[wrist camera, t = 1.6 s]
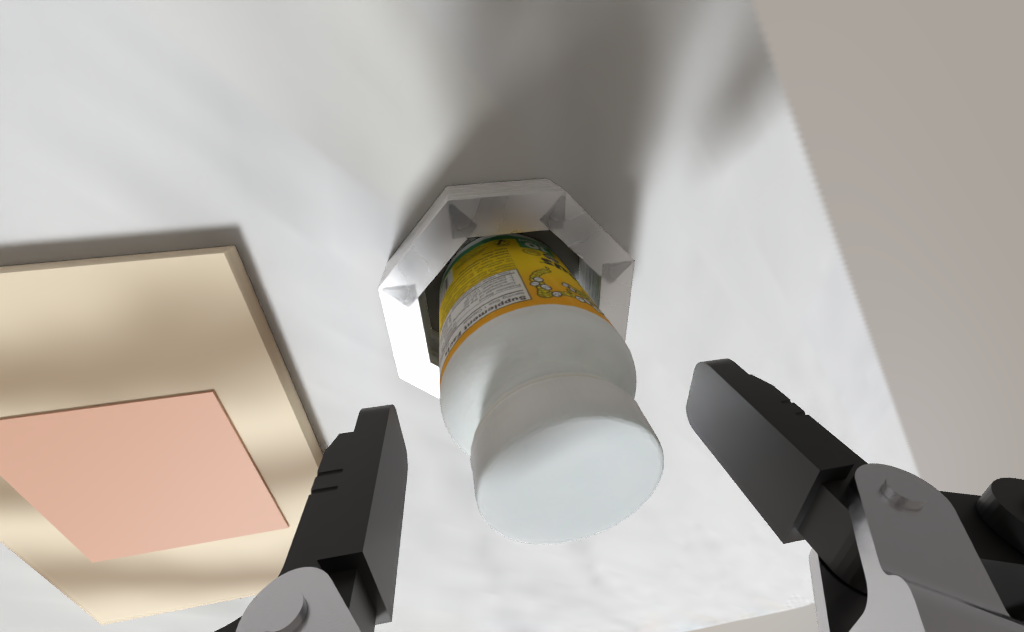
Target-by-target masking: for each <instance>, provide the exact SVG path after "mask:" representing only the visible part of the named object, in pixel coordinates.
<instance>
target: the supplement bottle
mask: <svg viewBox="0 0 1024 632" xmlns="http://www.w3.org/2000/svg"><path fill="white" fill-rule="evenodd" d="M439 386H440V405H441V412H442V416H443V420H444V423H445V425H446V428H447V430H448V432H449V434H450V435H451V437H452V439H453V440H454V441H455V443H456V444H457V445H458V446H459V447H460V449H462V450H463V451H464V452H465V453H466V454H467V455H468V456H470V461H471V467H472V471H473V479H474V488H475V497H476V501H477V505H478V509H479V512H480V514H481V516H482V518H483V519H484V520H485V522H486V523H487V524H488V525H489V526H490V527H491V528H492V529H493V530H495V531H496V532H497V533H499V534H500V535H502V536H504V537H507V538H509V539H511V540H514V541H518V542H523V543H529V544H561V543H566V542H570V541H575V540H579V539H583V538H587V537H590V536H593V535H596V534H598V533H601V532H603V531H605V530H608V529H610V528H611V527H613V526H615V525H617V524H618V523H620V522H621V521H623V520H625V519H626V518H628V517H629V516H630V515H631V514H633V513H634V512H635V511H637V510H638V509H639V508H640V507H641V506H642V505H643V504H644V503H645V502H646V501H647V500H648V499H649V498H650V496H651V495H652V494H653V492H654V490H655V489H656V487H657V485H658V483H659V481H660V478H661V475H662V472H663V467H664V456H663V450H662V447H661V445H660V442H659V440H658V438H657V436H656V434H655V433H654V431H653V429H652V428H651V426H650V424H649V423H648V421H647V419H646V418H645V416H644V415H643V413H642V411H641V410H640V408H639V406H638V404H637V402H636V401H635V400H634V397H635V392H636V371H635V365H634V361H633V358H632V355H631V352H630V350H629V348H628V346H627V345H626V343H625V341H624V340H623V338H622V337H621V335H620V334H619V333H618V331H617V330H616V329H615V328H614V326H613V325H612V324H611V323H610V321H609V320H608V319H607V318H606V316H605V315H604V313H603V312H602V311H601V310H600V309H599V308H598V307H597V305H596V304H595V303H594V301H593V300H592V299H591V298H590V296H589V295H588V294H587V293H586V292H585V290H584V289H583V287H582V286H581V285H580V284H579V283H578V281H577V280H576V279H575V277H574V276H573V275H572V274H571V272H570V271H569V270H568V269H567V267H566V266H565V265H564V264H563V262H562V261H561V260H560V258H559V257H558V256H557V255H556V254H555V253H554V252H553V251H552V250H551V249H550V248H549V247H547V246H546V245H545V244H543V243H541V242H539V241H537V240H535V239H533V238H530V237H527V236H524V235H521V234H516V233H511V234H500V235H489V236H483V237H481V238H479V239H476V240H474V241H473V242H471V243H469V244H468V245H467V246H465V247H464V248H463V249H461V250H460V251H459V252H458V253H457V254H456V255H455V256H454V258H453V259H452V260H451V262H450V263H449V265H448V267H447V268H446V270H445V272H444V275H443V278H442V281H441V285H440V293H439Z"/></svg>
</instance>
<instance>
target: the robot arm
mask: <svg viewBox="0 0 1024 632" xmlns="http://www.w3.org/2000/svg"><path fill="white" fill-rule="evenodd" d="M686 413H687V417H688V420H689V423H690V425H691V427H692V428H693V430H694V431H695V432H696V434H697V435H698V436H699V437H700V439H701V440H702V441H703V442H704V444H705V445H706V446H707V447H708V449H709V450H710V451H711V453H712V454H713V455H714V456H715V458H716V459H717V460H718V461H719V463H720V464H721V465H722V466H723V468H724V469H725V470H726V472H727V473H728V474H729V475H730V477H731V478H732V479H733V480H734V482H735V483H736V484H737V485H738V487H739V488H740V489H741V491H742V492H743V493H744V494H745V496H746V497H747V498H748V499H749V501H750V502H751V503H752V504H753V506H754V507H755V508H756V510H757V511H758V512H759V513H760V515H761V516H762V517H763V518H764V520H765V521H766V522H767V523H768V525H769V526H770V527H771V529H772V530H773V531H774V532H775V534H776V535H777V536H778V537H779V539H780V540H781V541H782V542H783V544H785V543H790V542H795V541H800V540H804V539H805V540H806V541H807V542H808V543H809V544H810V546H811V547H812V549H811V551H810V554H809V564H810V571H811V579H812V586H813V593H814V601H815V608H816V615H817V623H818V630H819V632H1024V480H1022V479H1016V478H1000V479H997V480H995V481H994V482H993V483H992V484H991V485H990V486H989V487H988V488H987V490H986V491H985V492H984V493H983V494H982V496H977V495H969V494H960V493H952V492H943V491H938V490H937V489H936V488H934V487H933V486H932V485H930V484H929V483H927V482H926V481H924V480H922V479H921V478H919V477H917V476H915V475H913V474H911V473H909V472H907V471H904V470H902V469H899V468H896V467H893V466H888V465H884V464H868V463H867V462H865V461H864V460H863V459H862V458H860V457H859V456H858V455H857V454H855V453H854V452H853V451H852V450H851V449H849V448H848V447H847V446H846V445H845V444H843V443H842V442H841V441H840V440H838V439H837V438H836V437H835V436H834V435H832V434H831V433H830V432H829V431H828V430H826V429H825V428H824V427H823V426H821V425H820V424H819V423H818V422H817V421H815V420H814V419H813V418H812V417H811V416H809V415H805V411H803V410H802V409H801V408H800V407H798V406H797V405H796V404H795V403H791V402H790V399H789V398H788V397H786V396H785V395H784V394H783V393H781V392H780V391H779V390H778V389H777V388H775V387H774V386H773V385H771V384H769V383H767V382H765V381H763V380H761V379H759V378H757V377H755V376H753V375H749V374H748V373H747V372H745V371H744V370H743V369H742V368H741V367H740V366H738V365H737V364H736V363H735V362H734V361H732V360H730V359H719V360H712V361H705V362H700V363H698V364H697V365H696V367H695V369H694V373H693V378H692V382H691V387H690V391H689V396H688V400H687V405H686ZM407 471H408V463H407V452H406V447H405V443H404V439H403V435H402V431H401V427H400V424H399V420H398V416H397V412H396V409H395V406H394V405H385V406H378V407H371V408H364V409H361V411H360V413H359V416H358V419H357V423H356V426H355V429H354V432H349V433H342V434H339V435H338V436H337V438H336V439H335V440H334V441H333V442H332V444H331V445H330V446H329V447H328V449H327V450H326V451H325V452H324V455H323V457H322V460H321V463H320V466H319V468H318V471H317V477H315V480H314V482H313V485H312V488H311V494H310V495H309V496H308V499H307V502H306V505H305V507H304V510H303V513H302V516H301V518H300V521H299V524H298V527H297V530H296V532H295V535H294V538H293V541H292V543H291V546H290V549H289V552H288V555H287V557H286V560H285V563H284V565H283V568H282V570H281V572H280V574H279V576H278V578H276V579H275V580H273V581H272V582H271V583H269V584H268V585H267V586H266V587H264V588H263V589H262V590H261V591H260V592H259V593H258V594H257V596H256V597H255V598H254V599H253V600H252V602H251V603H250V604H249V606H248V607H247V609H246V610H245V612H244V614H243V616H241V617H240V618H238V619H237V620H235V621H234V622H232V623H230V624H228V625H227V626H225V627H223V628H221V629H219V630H217V631H215V632H374V628H375V625H377V624H382V623H387V622H392V613H393V604H394V594H395V585H396V576H397V566H398V557H399V547H400V538H401V529H402V519H403V510H404V501H405V491H406V482H407Z"/></svg>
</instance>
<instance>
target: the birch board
mask: <svg viewBox="0 0 1024 632" xmlns="http://www.w3.org/2000/svg"><path fill="white" fill-rule="evenodd" d="M322 457H323V454H322V452H321V449H320V447H319V444H318V442H317V440H316V437H315V435H314V433H313V430H312V428H311V425H310V423H309V421H308V418H307V416H306V413H305V411H304V409H303V406H302V404H301V402H300V399H299V397H298V394H297V392H296V390H295V387H294V385H293V383H292V380H291V378H290V375H289V373H288V371H287V368H286V366H285V363H284V361H283V359H282V356H281V354H280V352H279V349H278V347H277V344H276V342H275V340H274V337H273V335H272V332H271V330H270V328H269V325H268V323H267V321H266V318H265V316H264V313H263V311H262V309H261V306H260V304H259V301H258V299H257V297H256V294H255V292H254V290H253V287H252V285H251V282H250V280H249V278H248V275H247V273H246V270H245V268H244V266H243V263H242V261H241V259H240V256H239V254H238V251H237V249H236V247H235V246H224V247H213V248H202V249H191V250H180V251H169V252H158V253H147V254H135V255H124V256H113V257H102V258H91V259H80V260H69V261H58V262H47V263H36V264H25V265H14V266H3V267H0V542H1V543H3V544H4V545H5V546H6V547H8V548H9V549H10V550H11V551H12V552H14V553H15V554H16V555H17V556H18V557H20V558H21V559H22V560H23V561H25V562H26V563H27V564H28V565H29V566H31V567H32V568H33V569H34V570H36V571H37V572H38V573H39V574H40V575H42V576H43V577H44V578H45V579H46V580H48V581H49V582H50V583H51V584H53V585H54V586H55V587H56V588H57V589H59V590H60V591H61V592H62V593H63V594H65V595H66V596H67V597H68V598H70V599H71V600H72V601H73V602H74V603H76V604H77V605H78V606H79V607H80V608H82V609H83V610H84V611H85V612H87V613H88V614H89V615H90V616H91V617H93V618H94V619H95V620H96V621H98V622H99V623H100V624H101V625H105V624H110V623H115V622H121V621H126V620H131V619H136V618H141V617H146V616H151V615H156V614H161V613H167V612H172V611H177V610H182V609H187V608H192V607H197V606H202V605H208V604H213V603H218V602H223V601H228V600H233V599H238V598H243V597H249V596H254V595H257V594H258V593H259V592H260V591H261V590H262V589H263V588H264V587H266V586H267V585H268V584H269V583H271V582H272V581H273V580H275V579H276V578H278V576H279V574H280V572H281V570H282V568H283V565H284V563H285V560H286V557H287V555H288V552H289V549H290V546H291V543H292V541H293V538H294V535H295V532H296V530H297V527H298V524H299V521H300V518H301V516H302V513H303V510H304V507H305V505H306V502H307V499H308V496H309V495H310V494H311V488H312V485H313V482H314V480H315V477H317V471H318V468H319V466H320V463H321V460H322Z"/></svg>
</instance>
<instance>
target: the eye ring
mask: <svg viewBox="0 0 1024 632" xmlns="http://www.w3.org/2000/svg"><path fill="white" fill-rule="evenodd" d="M542 230H551V231H552V232H553V233H554V234H555V235H556V236H557V237H558V238H560V239H561V240H562V241H563V242H564V243H565V244H566V245H567V246H568V247H569V248H570V249H572V250H573V251H574V252H575V253H576V254H577V255H578V256H579V276H578V283H579V284H580V285H581V286H582V287H583V289H584V290H585V292H586V293H587V294H588V295H589V296H590V298H591V299H592V300H593V301H594V303H595V304H596V305H597V307H598V308H599V309H600V310H601V311H602V312H603V313H604V315H605V316H606V318H607V319H608V320H609V321H610V323H611V324H612V325H613V326H614V328H615V329H616V330H617V331H618V333H619V334H620V335H621V337H622V338H623V340H624V341H625V339H626V330H627V322H628V313H629V305H630V296H631V288H632V279H633V271H634V262H635V260H634V259H633V258H632V257H631V256H630V255H629V254H628V253H627V252H626V251H625V250H624V249H623V248H622V247H621V246H620V245H619V244H618V243H617V242H616V241H615V240H614V239H613V238H612V237H611V236H610V235H609V234H608V233H607V232H606V231H605V230H604V229H603V228H602V227H601V226H600V225H599V224H598V223H597V222H596V221H595V220H594V219H593V218H592V217H591V216H590V215H589V214H588V213H587V212H586V211H585V210H584V209H583V208H582V207H581V206H580V205H579V204H578V203H577V202H576V201H575V200H574V199H573V198H572V197H571V196H570V195H569V194H568V193H567V192H566V191H565V190H564V189H562V188H561V187H559V186H558V185H556V184H554V183H553V182H551V181H550V180H548V179H547V178H545V179H532V180H519V181H506V182H493V183H481V184H468V185H455V186H446V188H445V189H444V190H443V192H442V193H441V194H440V195H439V197H438V198H437V199H436V201H435V202H434V203H433V204H432V206H431V207H430V208H429V209H428V211H427V212H426V213H425V215H424V216H423V217H422V218H421V220H420V221H419V222H418V224H417V225H416V226H415V227H414V229H413V230H412V231H411V232H410V234H409V235H408V236H407V238H406V239H405V240H404V241H403V243H402V244H401V245H400V247H399V248H398V249H397V250H396V252H395V253H394V254H393V255H392V257H391V258H390V259H389V261H388V262H387V265H386V267H385V270H384V273H383V276H382V279H381V281H380V284H379V287H378V289H379V294H380V298H381V302H382V306H383V310H384V314H385V318H386V323H387V327H388V331H389V335H390V339H391V343H392V347H393V352H394V356H395V360H396V364H397V368H398V372H399V376H400V378H402V379H404V380H406V381H408V382H409V383H411V384H413V385H415V386H417V387H419V388H421V389H422V390H424V391H426V392H428V393H430V394H432V395H433V396H435V397H437V398H439V399H440V386H439V333H438V332H436V331H434V330H433V329H431V323H430V317H429V312H428V306H427V300H426V294H425V288H426V287H427V286H428V285H429V284H430V283H431V281H432V280H433V279H434V278H435V277H436V275H437V274H438V273H439V272H440V271H441V269H442V268H443V267H444V266H445V265H446V263H447V262H448V261H449V260H450V259H451V257H452V256H453V255H454V254H455V253H456V251H457V250H458V249H459V248H460V247H461V246H462V244H463V243H464V242H465V241H466V240H467V238H468V237H479V236H489V235H500V234H511V233H521V232H532V231H542Z"/></svg>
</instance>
